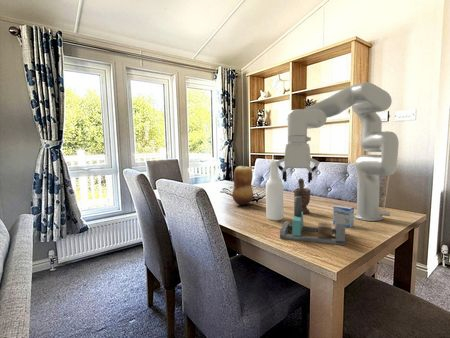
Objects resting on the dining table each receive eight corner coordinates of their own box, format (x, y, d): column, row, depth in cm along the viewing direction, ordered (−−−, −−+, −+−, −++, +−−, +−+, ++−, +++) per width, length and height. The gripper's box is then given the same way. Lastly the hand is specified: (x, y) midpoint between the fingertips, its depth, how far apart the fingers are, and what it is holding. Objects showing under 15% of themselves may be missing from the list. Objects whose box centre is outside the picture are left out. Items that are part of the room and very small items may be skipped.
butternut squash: (252, 207, 152) (251, 167, 150) (231, 207, 155) (229, 167, 152) (254, 202, 166) (253, 165, 164) (234, 202, 168) (233, 165, 166)
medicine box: (332, 224, 116) (332, 206, 116) (336, 222, 119) (336, 204, 119) (350, 228, 111) (350, 209, 110) (353, 225, 114) (354, 207, 113)
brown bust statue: (314, 216, 130) (314, 178, 128) (297, 216, 130) (297, 179, 129) (307, 210, 142) (307, 175, 140) (292, 210, 142) (292, 176, 140)
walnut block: (331, 235, 103) (331, 223, 102) (331, 239, 98) (331, 227, 98) (318, 234, 105) (318, 222, 104) (318, 238, 100) (318, 226, 100)
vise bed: (342, 232, 105) (342, 214, 105) (344, 245, 92) (345, 224, 92) (284, 227, 114) (284, 210, 114) (279, 238, 101) (279, 219, 101)
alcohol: (272, 221, 123) (271, 161, 120) (263, 217, 131) (261, 160, 128) (287, 219, 126) (286, 160, 123) (277, 214, 135) (276, 159, 132)
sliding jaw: (303, 225, 111) (302, 193, 110) (300, 236, 98) (300, 200, 97) (296, 224, 112) (295, 193, 111) (292, 235, 99) (292, 200, 98)
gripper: (320, 140, 102) (319, 181, 103) (277, 141, 108) (277, 180, 110) (319, 139, 95) (319, 184, 96) (274, 140, 101) (274, 182, 103)
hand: (297, 181), depth 103 cm, fingers open, 9 cm apart
